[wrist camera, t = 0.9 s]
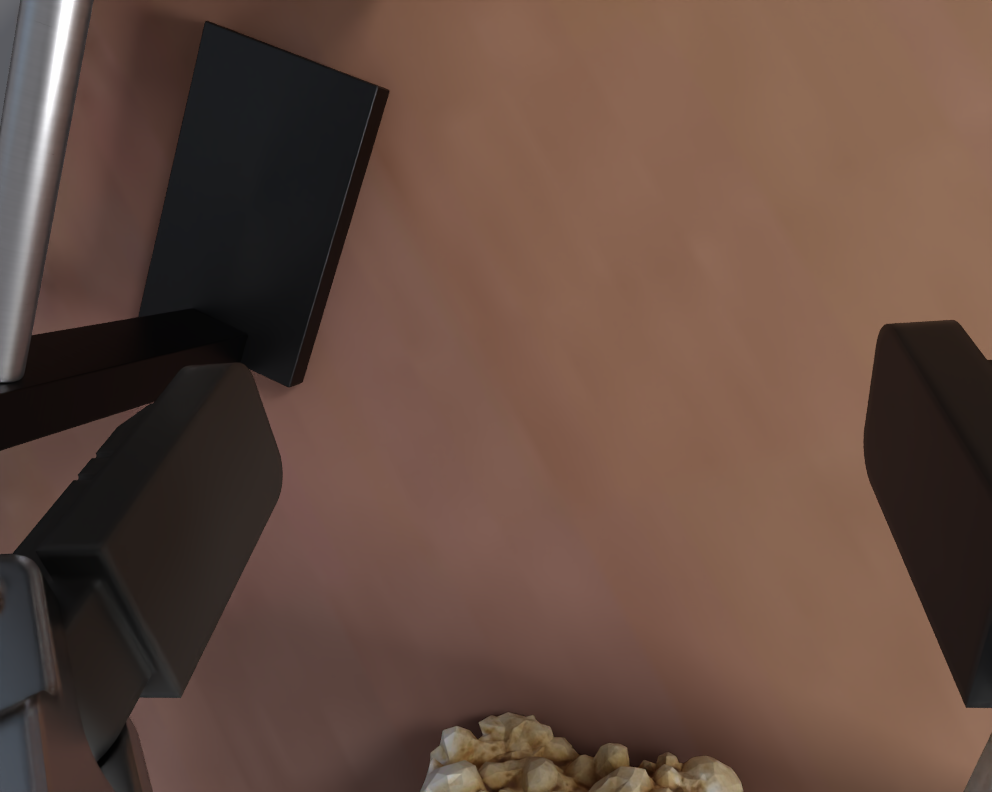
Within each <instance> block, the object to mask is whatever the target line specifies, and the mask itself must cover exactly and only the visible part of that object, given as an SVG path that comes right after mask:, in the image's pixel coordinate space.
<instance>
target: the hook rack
mask: <svg viewBox="0 0 992 792" xmlns="http://www.w3.org/2000/svg"><path fill="white" fill-rule="evenodd" d="M93 1H94V0H20V6H19V12H18V19H17V25H16V31H15V37H14V44H13V50H12V56H11V62H10V69H9V75H8V81H7V88H6V94H5V100H4V106H3V113H2V119H1V126H0V451H1V450H4V449H7V448H10V447H14V446H17V445H20V444H23V443H26V442H29V441H32V440H36V439H39V438H42V437H45V436H48V435H51V434H54V433H58V432H61V431H64V430H67V429H70V428H73V427H76V426H80V425H83V424H86V423H89V422H92V421H95V420H98V419H101V418H105V417H108V416H111V415H114V414H117V413H120V412H123V411H127V410H130V409H133V408H136V407H139V406H142V405H145V404H149V403H152V402H155V401H156V399H157V398H158V397H159V396H160V394H161V393H162V392H163V391H164V389H165V388H166V387H167V386H168V384H169V383H170V382H171V381H172V379H173V378H174V377H175V376H176V374H177V373H178V372H179V371H180V370H181V369H182V368H183V367H185V366H189V365H205V364H221V363H237V362H238V363H242V364H244V365H245V366H246V367H247V368H248V369H250V370H253V371H255V372H257V373H259V374H261V375H263V376H265V377H268V378H270V379H272V380H274V381H276V382H278V383H280V384H283V385H285V386H287V387H292V386H294V385H297V384H300V383H302V382H303V379H304V375H305V372H306V369H307V365H308V362H309V359H310V355H311V352H312V349H313V345H314V342H315V339H316V335H317V332H318V329H319V325H320V322H321V319H322V315H323V312H324V309H325V305H326V302H327V299H328V295H329V292H330V289H331V285H332V282H333V279H334V275H335V272H336V269H337V265H338V262H339V259H340V255H341V252H342V249H343V245H344V242H345V239H346V235H347V232H348V228H349V225H350V222H351V218H352V215H353V212H354V208H355V205H356V202H357V198H358V195H359V192H360V188H361V185H362V182H363V178H364V175H365V172H366V168H367V165H368V162H369V158H370V155H371V152H372V148H373V145H374V142H375V138H376V135H377V132H378V128H379V125H380V122H381V118H382V115H383V112H384V108H385V105H386V102H387V98H388V95H389V90H388V89H385V88H382V87H380V86H377V85H375V84H372V83H369V82H367V81H364V80H361V79H359V78H356V77H354V76H351V75H348V74H346V73H343V72H341V71H338V70H335V69H333V68H330V67H327V66H325V65H322V64H320V63H317V62H314V61H312V60H309V59H307V58H304V57H301V56H299V55H296V54H293V53H291V52H288V51H286V50H283V49H280V48H278V47H275V46H273V45H270V44H267V43H265V42H262V41H259V40H257V39H254V38H252V37H249V36H246V35H244V34H241V33H238V32H236V31H233V30H231V29H228V28H225V27H223V26H220V25H217V24H215V23H212V22H209V21H205V24H204V29H203V33H202V38H201V42H200V46H199V51H198V55H197V60H196V64H195V68H194V73H193V77H192V82H191V86H190V91H189V95H188V99H187V104H186V108H185V113H184V117H183V121H182V126H181V130H180V135H179V139H178V144H177V148H176V152H175V157H174V161H173V166H172V170H171V174H170V179H169V183H168V188H167V192H166V197H165V201H164V205H163V210H162V214H161V219H160V223H159V227H158V232H157V236H156V241H155V245H154V250H153V254H152V258H151V263H150V267H149V272H148V276H147V280H146V285H145V289H144V294H143V298H142V303H141V307H140V311H139V317H137V318H131V319H125V320H120V321H114V322H108V323H102V324H96V325H90V326H84V327H78V328H72V329H66V330H61V331H55V332H49V333H43V334H37V335H32V330H33V325H34V319H35V314H36V308H37V303H38V298H39V292H40V287H41V281H42V276H43V271H44V265H45V260H46V254H47V249H48V244H49V238H50V233H51V227H52V222H53V217H54V211H55V206H56V200H57V195H58V190H59V184H60V179H61V173H62V168H63V163H64V157H65V152H66V146H67V141H68V136H69V130H70V125H71V120H72V114H73V109H74V103H75V98H76V93H77V87H78V82H79V76H80V71H81V66H82V60H83V55H84V49H85V44H86V39H87V33H88V28H89V22H90V17H91V12H92V6H93Z"/></svg>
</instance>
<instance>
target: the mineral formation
mask: <svg viewBox="0 0 992 792" xmlns="http://www.w3.org/2000/svg"><path fill="white" fill-rule="evenodd" d="M479 725H480V728H481V731H482V734H483V736H482V737H480V738H479V739H477V738H476V737H475V736H474V735H473V733H472V732H471V731H470V730H467V729H464V728H462V727H458V726H455V727H451V728H448V729H445V730H443V733H442V737H441V742H440V746H438V747H437V748H436V749H435V750H434V751H432V752H431V753H430V765H429V769H428V772H427V776H426V779H425V781H424V784H423V786H422V788H421V790H420V792H743V788H742V784H741V781H740V779H739V778H738V777H737V775H736V774H735V772H734V771H733V769H732V768H731V767H729V766H727V765H725V764H723V763H721V762H719V761H718V760H716V759H714V758H713V757H709V756H697V757H693V758H691V759H690V760H688V761H687V762H685V763H679V762H678V759H677V757H676V756H674V755H673V754H671V753H669V752H667V753H665V754H662V755H659V756H658V759H657V762H656V764H655V763H652V762H649V761H646V760H643V762H642V763H641V764H640V766H639V767H638V768H636V767H630V764H629V756H628V751H627V747H625V746H623V745H621V744H618V743H607V744H605V745H603V746H601V747H600V749H599V750H598V752H597V754H596V755H595V757H591V756H588V755H585V754H584V755H580V754H578V753H577V752H576V750H575V749H573V746H572V745H571V744H570V743H569V742H568V741H567V740H566V739H565V738H564V737H563V738H562V737H554V736H553V733H552V730H551V727H550V726H547V725H543V724H540V723H539V722H538V721H537V720H536V719H535V717H534V715H531V716H528V717H525V716H524V715H517V714H513V713H509V712H507V713H505V714H502V715H500V716H497V717H496V716H493V715H490V716H489V717H487V718H485V719H484V720H482V721H480V722H479Z"/></svg>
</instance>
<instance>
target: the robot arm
mask: <svg viewBox="0 0 992 792" xmlns="http://www.w3.org/2000/svg"><path fill="white" fill-rule="evenodd" d="M864 457H865V465H866V470H867V474H868V478H869V481H870V483H871V486H872V488H873V491H874V493H875V495H876V498H877V500H878V502H879V505H880V507H881V509H882V512H883V514H884V516H885V519H886V521H887V523H888V526H889V528H890V530H891V533H892V535H893V537H894V540H895V542H896V544H897V547H898V549H899V552H900V554H901V556H902V559H903V561H904V563H905V566H906V568H907V570H908V573H909V575H910V577H911V580H912V582H913V584H914V587H915V589H916V591H917V594H918V596H919V598H920V601H921V603H922V605H923V608H924V610H925V612H926V615H927V617H928V620H929V622H930V624H931V627H932V629H933V631H934V634H935V636H936V638H937V641H938V643H939V645H940V648H941V650H942V652H943V655H944V657H945V659H946V662H947V664H948V666H949V669H950V671H951V673H952V676H953V678H954V681H955V683H956V685H957V688H958V690H959V692H960V695H961V697H962V699H963V702H964V704H965V706H966V708H992V360H987V359H986V358H985V357H984V355H983V354H982V353H981V351H980V350H979V349H978V347H977V346H976V345H975V343H974V342H973V341H972V339H971V338H970V337H969V335H968V334H967V333H966V331H965V330H964V329H963V328H962V326H961V325H960V324H959V323H958V322H957V321H955V320H943V321H927V322H910V323H894V324H885V325H884V326H883V327H882V328H881V330H880V332H879V335H878V339H877V344H876V350H875V357H874V364H873V371H872V378H871V386H870V393H869V400H868V407H867V414H866V421H865V428H864ZM282 475H283V473H282V462H281V456H280V453H279V450H278V447H277V444H276V441H275V438H274V435H273V433H272V430H271V427H270V424H269V421H268V418H267V415H266V412H265V409H264V407H263V404H262V401H261V398H260V395H259V392H258V389H257V386H256V384H255V381H254V378H253V376H252V374H251V372H250V370H249V369H248V368H247V367H246V366H245V365H244V364H242V363H238V362H237V363H221V364H205V365H189V366H185V367H183V368H182V369H181V370H180V371H179V372H178V373H177V374H176V376H175V377H174V378H173V379H172V381H171V382H170V383H169V384H168V386H167V387H166V388H165V389H164V391H163V392H162V393H161V394H160V396H159V397H158V398H157V399H156V401H155V402H154V403H153V404H149V405H148V406H147V407H145V408H144V409H142V410H141V411H140V412H138V413H137V414H135V415H134V416H133V417H131V418H130V419H128V420H127V421H125V422H124V423H123V424H121V425H120V426H118V427H117V428H116V430H115V431H114V432H113V433H112V434H111V436H110V437H109V438H108V439H107V440H106V442H105V443H104V444H103V445H102V446H101V448H100V449H99V450H98V451H97V453H96V458H92V459H91V460H90V461H89V462H88V463H87V465H86V466H85V467H84V468H83V469H82V471H81V472H80V473H79V474H78V476H79V479H78V480H73V481H72V483H71V484H70V485H69V486H68V487H67V489H66V490H65V491H64V492H63V494H62V495H61V496H60V497H59V498H58V500H57V501H56V502H55V503H54V504H53V506H52V507H51V508H50V509H49V510H48V512H47V513H46V514H45V515H44V516H43V518H42V519H41V520H40V521H39V522H38V524H37V525H36V526H35V527H34V528H33V530H32V531H31V532H30V533H29V534H28V536H27V537H26V538H25V539H24V541H23V542H22V543H21V544H20V545H19V547H18V548H17V549H16V550H15V551H14V553H13V554H0V792H153V790H152V786H151V782H150V778H149V774H148V770H147V766H146V762H145V759H144V755H143V751H142V747H141V743H140V739H139V735H138V732H137V730H136V727H135V726H134V724H133V722H132V721H131V719H130V717H129V716H130V714H131V712H132V710H133V708H134V706H135V704H136V703H137V701H138V699H139V697H144V698H181V696H182V694H183V692H184V690H185V688H186V686H187V684H188V682H189V680H190V678H191V676H192V674H193V672H194V670H195V668H196V666H197V664H198V662H199V660H200V658H201V656H202V653H203V651H204V649H205V647H206V645H207V643H208V641H209V639H210V637H211V635H212V633H213V631H214V629H215V627H216V625H217V623H218V621H219V619H220V617H221V615H222V613H223V611H224V609H225V607H226V605H227V603H228V601H229V599H230V597H231V594H232V592H233V590H234V588H235V586H236V584H237V582H238V580H239V578H240V576H241V574H242V572H243V570H244V568H245V566H246V564H247V562H248V560H249V558H250V556H251V554H252V552H253V550H254V548H255V546H256V544H257V542H258V540H259V538H260V536H261V533H262V531H263V529H264V527H265V525H266V523H267V521H268V519H269V517H270V515H271V513H272V511H273V509H274V507H275V505H276V503H277V501H278V498H279V496H280V492H281V487H282ZM964 792H992V733H991V735H990V738H989V740H988V742H987V744H986V746H985V748H984V750H983V752H982V754H981V756H980V758H979V760H978V762H977V765H976V767H975V769H974V771H973V773H972V775H971V777H970V779H969V781H968V783H967V785H966V787H965V790H964Z"/></svg>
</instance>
